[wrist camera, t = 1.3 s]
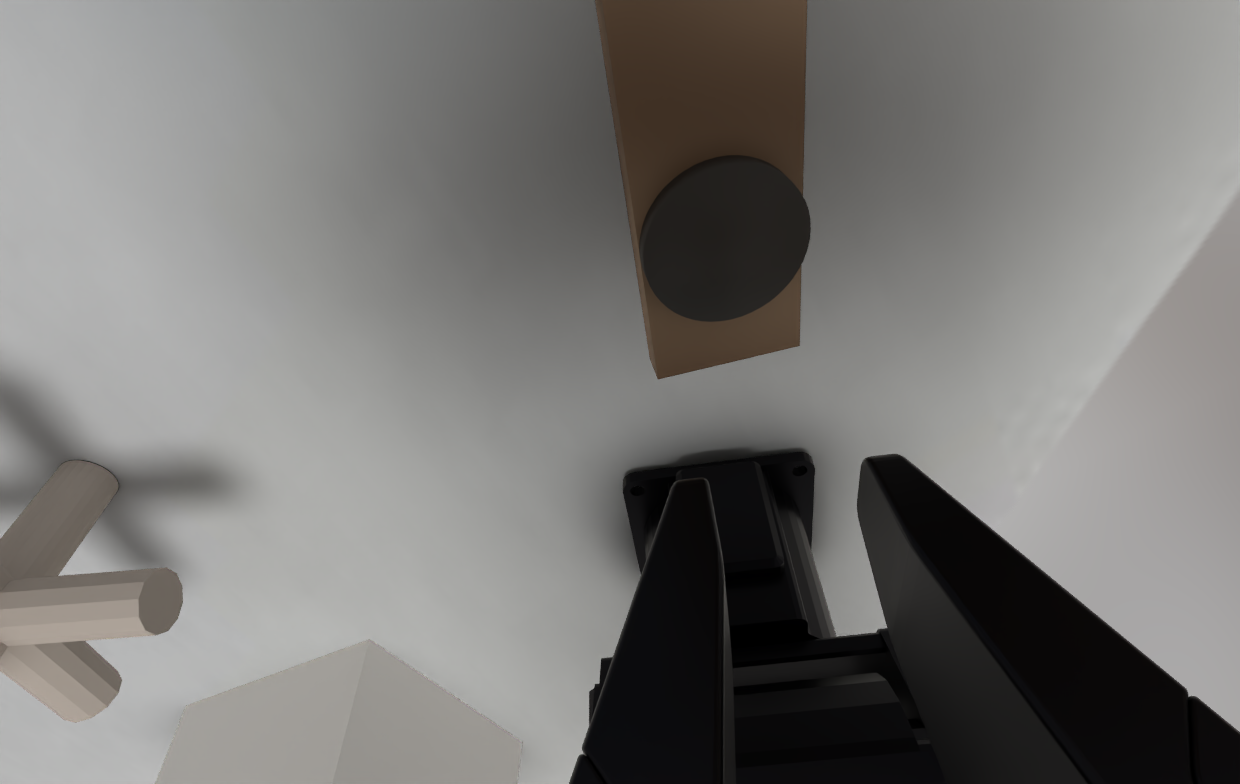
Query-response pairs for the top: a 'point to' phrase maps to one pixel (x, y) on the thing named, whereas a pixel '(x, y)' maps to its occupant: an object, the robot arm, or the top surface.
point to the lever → (711, 171)
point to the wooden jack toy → (72, 597)
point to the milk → (340, 729)
